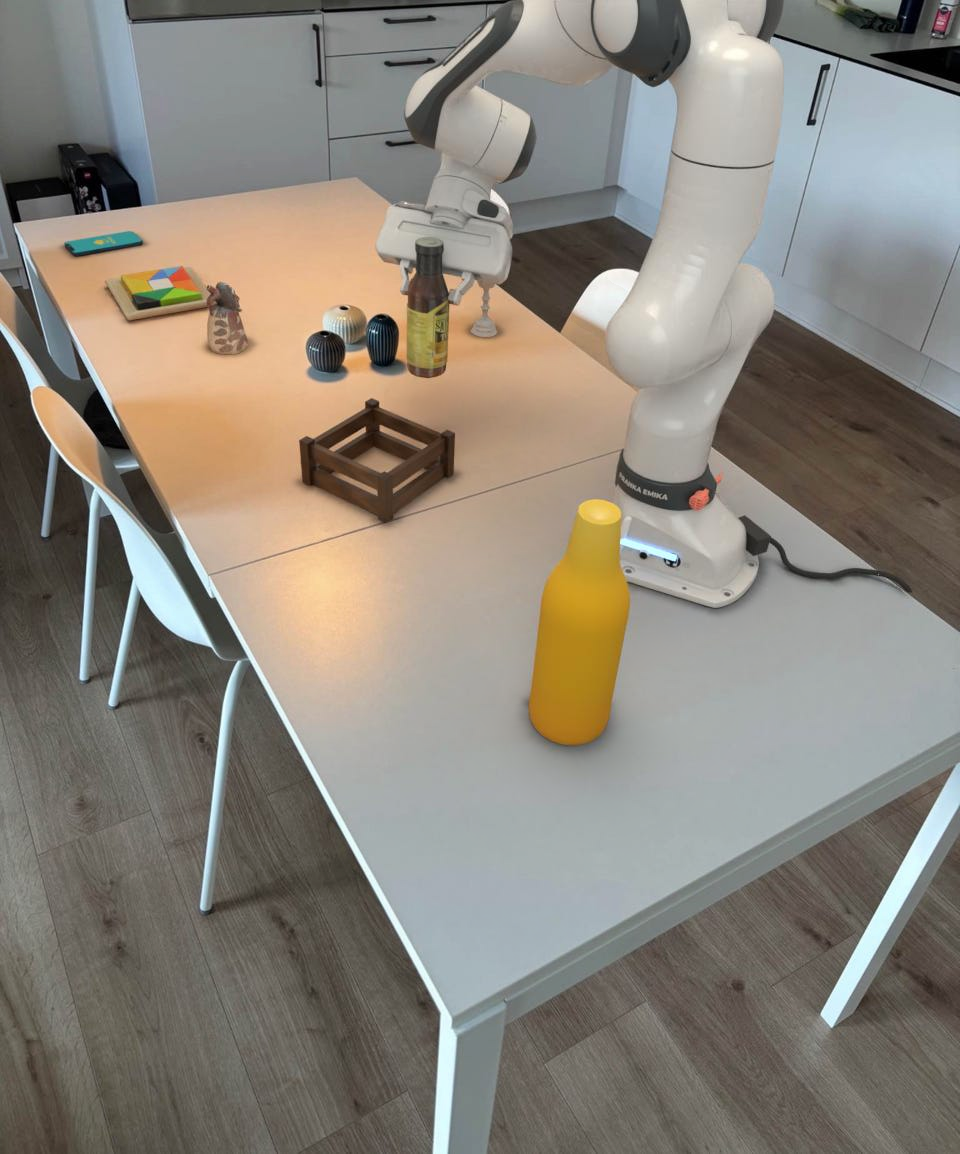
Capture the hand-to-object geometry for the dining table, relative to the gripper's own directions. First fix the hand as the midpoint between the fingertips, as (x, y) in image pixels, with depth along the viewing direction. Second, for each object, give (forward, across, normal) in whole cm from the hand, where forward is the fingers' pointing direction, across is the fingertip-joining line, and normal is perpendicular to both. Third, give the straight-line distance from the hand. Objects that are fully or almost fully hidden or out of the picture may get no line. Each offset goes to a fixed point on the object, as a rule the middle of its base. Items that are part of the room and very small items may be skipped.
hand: (429, 298), depth 143 cm
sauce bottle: (+8, 0, +8) cm, 12 cm away
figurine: (+7, -45, +27) cm, 53 cm away
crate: (+27, -2, +6) cm, 27 cm away
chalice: (-12, -5, +45) cm, 47 cm away
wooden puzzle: (-2, -68, +35) cm, 76 cm away
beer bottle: (+52, +38, -19) cm, 67 cm away
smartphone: (-14, -94, +48) cm, 106 cm away
